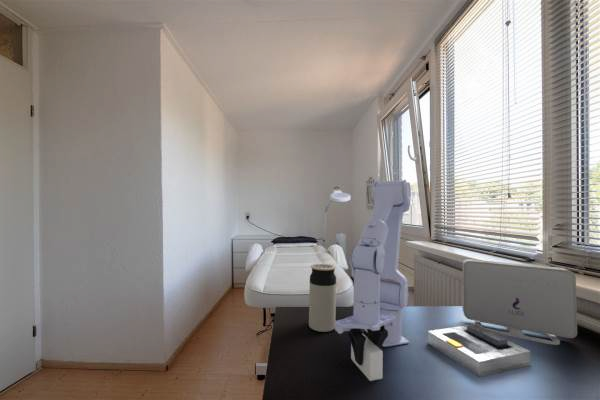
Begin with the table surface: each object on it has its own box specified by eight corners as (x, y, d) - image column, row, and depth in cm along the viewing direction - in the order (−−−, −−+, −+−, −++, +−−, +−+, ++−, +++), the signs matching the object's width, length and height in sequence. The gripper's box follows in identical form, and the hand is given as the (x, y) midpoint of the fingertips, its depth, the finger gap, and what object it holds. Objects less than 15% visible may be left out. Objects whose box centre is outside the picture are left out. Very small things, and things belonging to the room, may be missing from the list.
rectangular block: (351, 358, 59) (351, 334, 59) (362, 356, 60) (362, 333, 60) (369, 381, 51) (370, 353, 51) (382, 378, 52) (382, 351, 52)
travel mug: (336, 333, 71) (337, 269, 72) (308, 332, 71) (310, 268, 72) (333, 321, 79) (334, 263, 79) (308, 320, 79) (309, 262, 80)
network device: (464, 327, 77) (464, 261, 77) (461, 316, 84) (461, 257, 85) (582, 350, 65) (580, 272, 66) (566, 336, 72) (564, 266, 73)
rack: (427, 343, 66) (427, 324, 67) (473, 335, 71) (472, 318, 71) (479, 377, 53) (479, 353, 53) (530, 365, 58) (530, 344, 58)
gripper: (345, 309, 50) (344, 378, 49) (405, 302, 54) (405, 367, 54) (331, 297, 57) (330, 358, 56) (385, 292, 61) (385, 349, 60)
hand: (365, 361), depth 55 cm, fingers closed on rectangular block, 3 cm apart
